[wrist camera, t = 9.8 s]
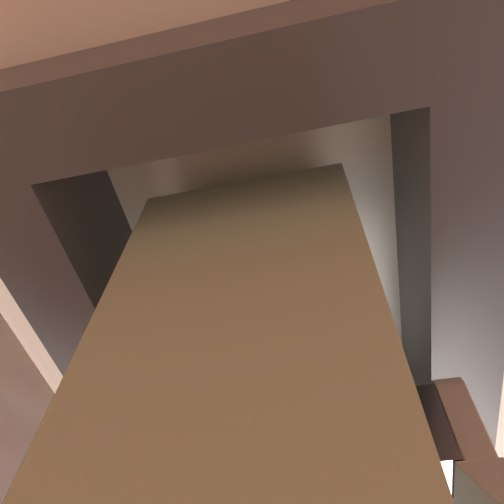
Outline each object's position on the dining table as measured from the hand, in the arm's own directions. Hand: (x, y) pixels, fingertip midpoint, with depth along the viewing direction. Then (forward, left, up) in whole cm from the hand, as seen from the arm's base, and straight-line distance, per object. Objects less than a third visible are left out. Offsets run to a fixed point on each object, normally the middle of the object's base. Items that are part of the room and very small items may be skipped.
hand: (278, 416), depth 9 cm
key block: (0, 0, -3) cm, 3 cm away
